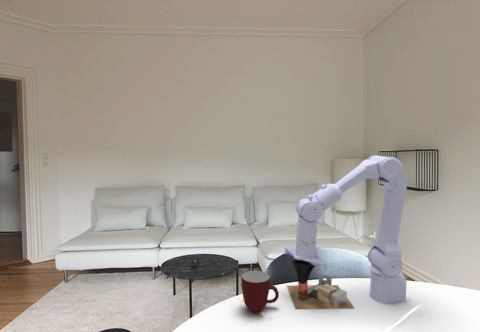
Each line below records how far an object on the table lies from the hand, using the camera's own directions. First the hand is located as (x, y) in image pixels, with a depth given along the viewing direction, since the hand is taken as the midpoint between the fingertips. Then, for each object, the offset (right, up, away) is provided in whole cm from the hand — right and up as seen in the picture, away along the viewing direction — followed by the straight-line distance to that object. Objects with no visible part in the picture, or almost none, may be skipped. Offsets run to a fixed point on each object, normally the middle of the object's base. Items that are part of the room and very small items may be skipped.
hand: (302, 284), depth 97 cm
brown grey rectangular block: (+10, -6, -3) cm, 12 cm away
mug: (-13, -6, -4) cm, 15 cm away
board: (+5, -6, +2) cm, 8 cm away
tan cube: (+7, -5, 0) cm, 9 cm away
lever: (+5, -4, +4) cm, 7 cm away
